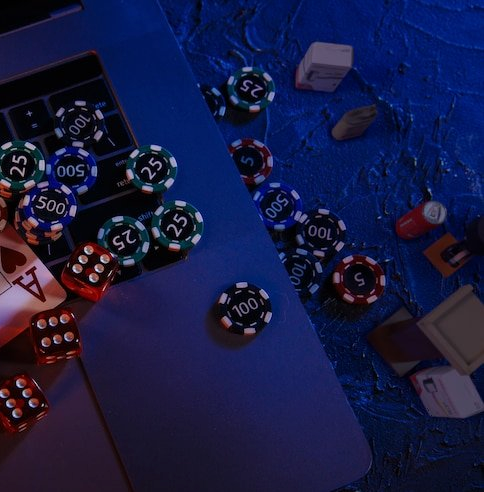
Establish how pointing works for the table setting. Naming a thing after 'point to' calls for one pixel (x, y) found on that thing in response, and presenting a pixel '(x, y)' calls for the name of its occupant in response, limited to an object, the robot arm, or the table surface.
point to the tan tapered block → (354, 122)
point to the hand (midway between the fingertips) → (450, 253)
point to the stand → (402, 342)
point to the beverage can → (421, 220)
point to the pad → (437, 257)
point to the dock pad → (458, 330)
